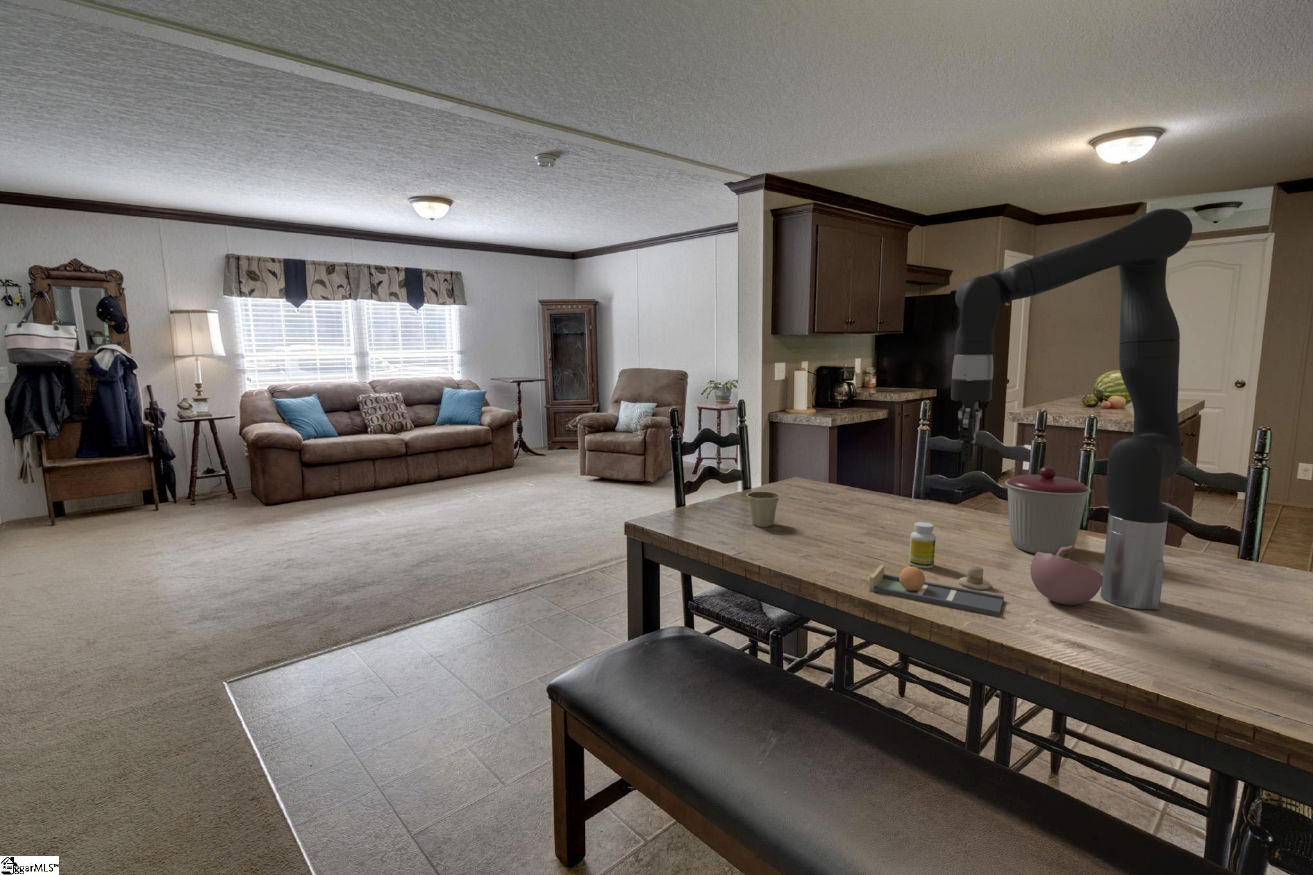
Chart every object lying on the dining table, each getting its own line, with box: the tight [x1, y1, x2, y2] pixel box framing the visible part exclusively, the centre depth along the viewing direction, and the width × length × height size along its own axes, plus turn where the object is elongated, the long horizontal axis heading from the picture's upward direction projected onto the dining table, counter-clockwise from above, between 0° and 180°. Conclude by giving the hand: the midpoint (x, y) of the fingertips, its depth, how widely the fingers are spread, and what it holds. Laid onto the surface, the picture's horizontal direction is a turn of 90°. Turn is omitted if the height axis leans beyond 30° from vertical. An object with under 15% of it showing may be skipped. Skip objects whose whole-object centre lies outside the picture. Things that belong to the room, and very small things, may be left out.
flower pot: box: [746, 490, 781, 528], centre depth 182 cm, size 9×9×9 cm
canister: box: [1004, 466, 1092, 556], centre depth 158 cm, size 18×18×21 cm
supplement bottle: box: [908, 521, 936, 569], centre depth 148 cm, size 5×5×10 cm
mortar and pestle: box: [1029, 546, 1103, 606], centre depth 126 cm, size 12×12×11 cm
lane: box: [868, 564, 1005, 618], centre depth 130 cm, size 24×9×3 cm, turn 57°
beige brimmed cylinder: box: [958, 565, 991, 591], centre depth 136 cm, size 6×6×4 cm
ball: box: [898, 565, 926, 591], centre depth 133 cm, size 5×5×5 cm
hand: (966, 460), depth 133 cm, fingers closed
